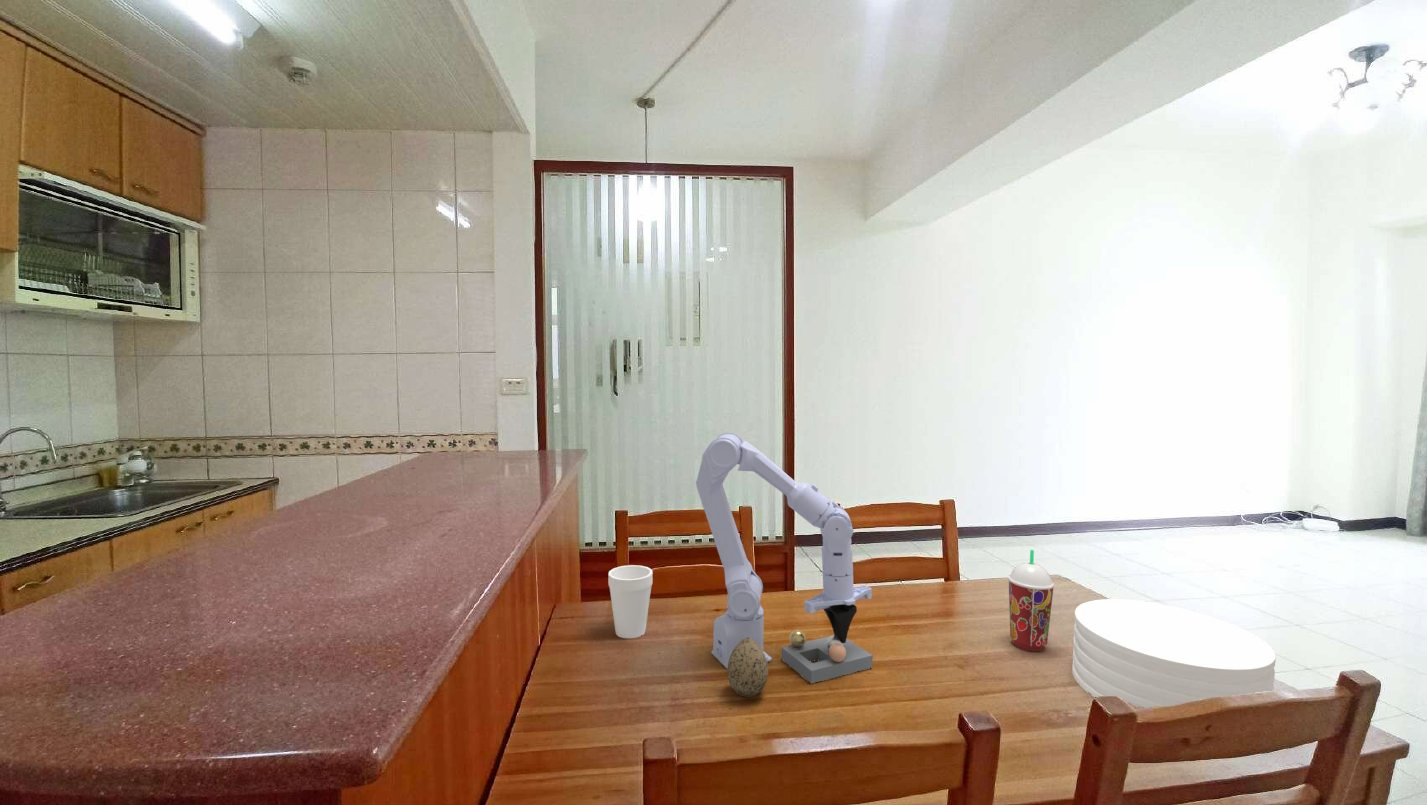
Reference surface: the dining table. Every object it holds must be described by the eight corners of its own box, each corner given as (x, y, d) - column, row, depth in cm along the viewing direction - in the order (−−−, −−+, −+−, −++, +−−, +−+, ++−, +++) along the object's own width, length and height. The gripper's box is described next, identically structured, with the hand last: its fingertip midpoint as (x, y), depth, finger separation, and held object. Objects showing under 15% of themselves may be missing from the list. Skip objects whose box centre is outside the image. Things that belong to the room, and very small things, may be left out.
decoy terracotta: (835, 666, 108) (835, 649, 108) (825, 659, 111) (825, 642, 111) (849, 663, 110) (850, 646, 110) (838, 655, 113) (839, 639, 113)
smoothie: (1057, 657, 118) (1061, 558, 117) (1012, 652, 120) (1016, 555, 119) (1043, 638, 126) (1047, 545, 125) (1001, 634, 128) (1004, 543, 127)
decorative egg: (718, 695, 103) (719, 639, 103) (743, 679, 109) (744, 625, 108) (751, 710, 99) (752, 652, 98) (776, 693, 104) (776, 637, 103)
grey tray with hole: (811, 684, 107) (811, 670, 107) (781, 659, 116) (781, 647, 116) (872, 668, 113) (872, 655, 113) (839, 645, 122) (839, 634, 122)
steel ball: (841, 658, 114) (831, 654, 112) (830, 648, 116) (820, 644, 115) (849, 643, 114) (839, 638, 112) (838, 634, 117) (828, 629, 115)
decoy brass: (795, 651, 114) (795, 635, 114) (786, 644, 117) (786, 628, 117) (808, 648, 116) (809, 632, 115) (799, 641, 118) (800, 625, 118)
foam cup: (656, 623, 132) (656, 566, 131) (647, 642, 123) (648, 581, 122) (614, 621, 133) (614, 564, 132) (602, 640, 124) (602, 579, 123)
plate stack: (1176, 654, 120) (1179, 598, 120) (1322, 740, 92) (1327, 668, 92) (1041, 655, 119) (1043, 599, 119) (1147, 742, 92) (1150, 670, 91)
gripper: (818, 585, 107) (821, 659, 108) (881, 570, 113) (884, 640, 114) (796, 574, 113) (799, 644, 114) (857, 560, 119) (859, 626, 120)
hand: (840, 641), depth 114 cm, fingers closed, pressing on steel ball
